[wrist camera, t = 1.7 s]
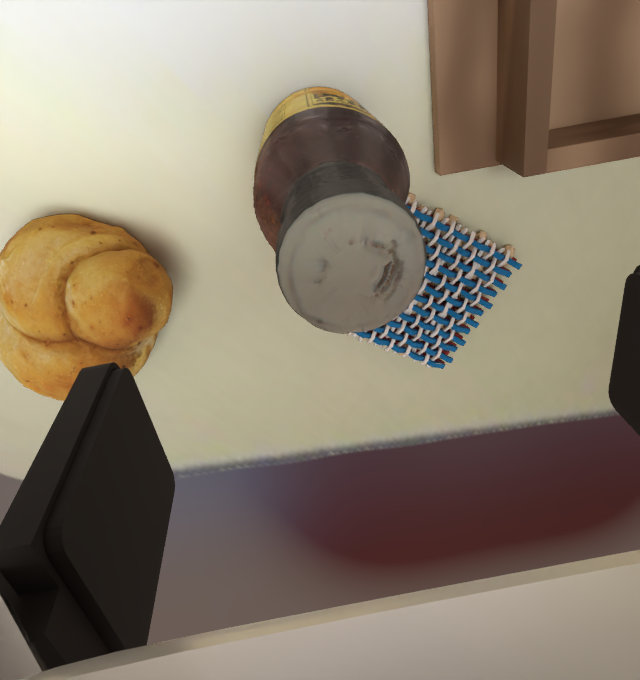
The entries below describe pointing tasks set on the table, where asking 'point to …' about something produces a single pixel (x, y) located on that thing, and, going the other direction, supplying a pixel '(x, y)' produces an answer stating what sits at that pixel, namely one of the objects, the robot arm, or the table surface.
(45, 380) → the bread roll
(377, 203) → the sauce bottle
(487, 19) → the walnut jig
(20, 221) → the table surface
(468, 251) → the woven mat
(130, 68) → the table surface
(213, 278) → the table surface
